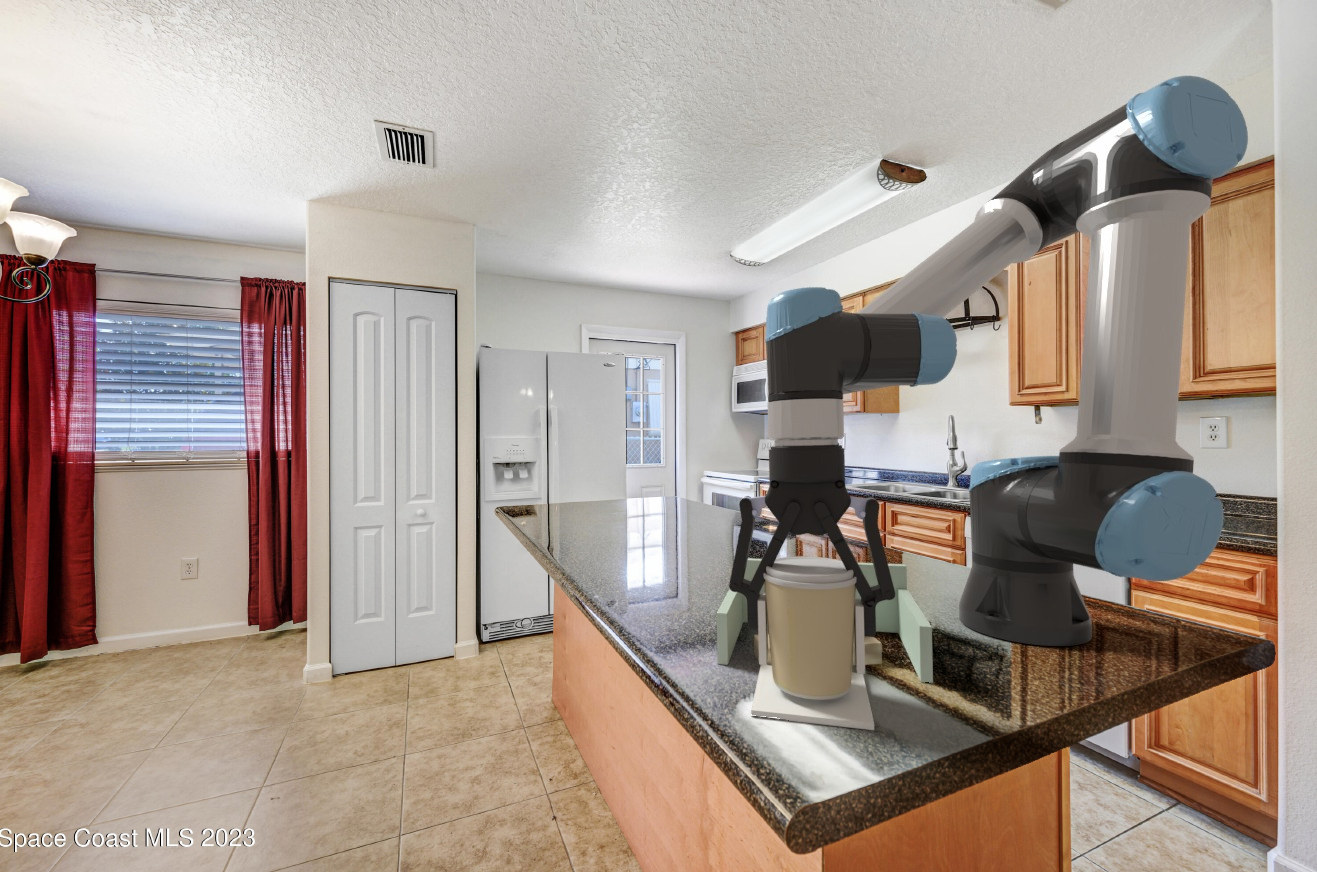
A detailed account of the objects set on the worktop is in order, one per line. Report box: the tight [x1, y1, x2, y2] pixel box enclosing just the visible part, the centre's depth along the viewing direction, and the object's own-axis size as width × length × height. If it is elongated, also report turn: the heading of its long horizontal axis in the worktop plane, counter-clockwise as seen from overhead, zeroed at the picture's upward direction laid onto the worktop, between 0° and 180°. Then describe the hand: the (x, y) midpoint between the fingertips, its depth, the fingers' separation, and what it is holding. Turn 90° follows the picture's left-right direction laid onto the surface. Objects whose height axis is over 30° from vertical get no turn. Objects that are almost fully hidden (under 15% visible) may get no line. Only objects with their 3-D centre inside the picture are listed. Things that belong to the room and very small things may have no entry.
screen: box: [716, 557, 934, 684], centre depth 70 cm, size 23×17×9 cm
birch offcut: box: [753, 633, 883, 666], centre depth 66 cm, size 14×4×3 cm, turn 94°
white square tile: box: [750, 664, 875, 731], centre depth 56 cm, size 11×11×1 cm
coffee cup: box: [763, 555, 857, 700], centre depth 56 cm, size 9×9×12 cm
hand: (810, 663), depth 56 cm, fingers closed on coffee cup, 9 cm apart
